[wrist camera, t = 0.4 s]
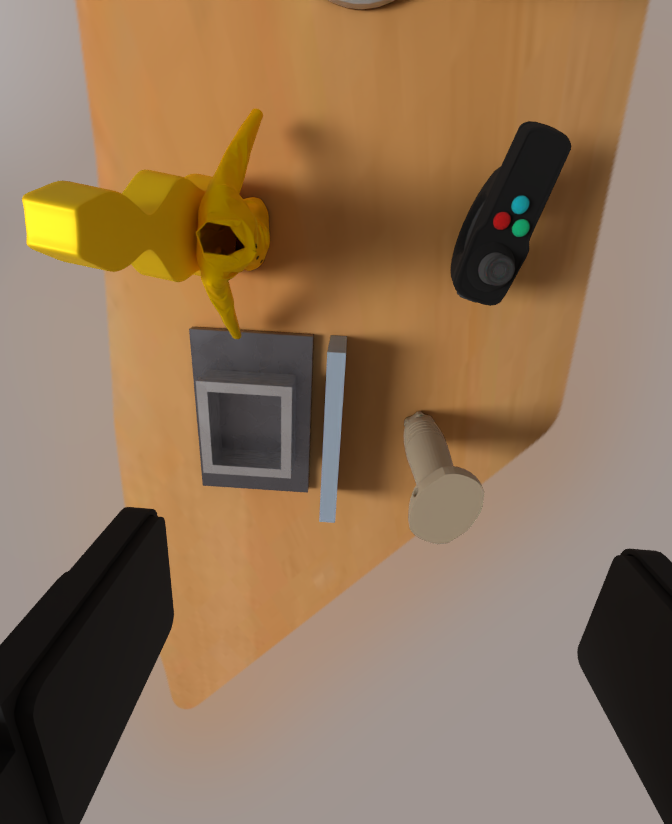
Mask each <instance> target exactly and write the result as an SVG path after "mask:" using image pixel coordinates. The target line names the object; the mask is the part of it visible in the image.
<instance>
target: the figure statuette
mask: <svg viewBox="0 0 672 824" xmlns="http://www.w3.org/2000/svg"><path fill="white" fill-rule="evenodd" d="M262 117H263V113H262V112H261V111H260V110H259V109H253V110H252V111H251V113H250V114H249V116H248V117H247V119H246V120H245V121H244V123H243V124H242V125H241V127H240V128H239V130H238V132H237V133H236V135H235V137H234V138H233V140H232V141H231V143H230V145H229V146H228V148H227V150H226V152H225V153H224V155H223V157H222V160H221V162H220V164H219V166H218V168H217V170H216V172H215V174H214V176H213V177H211V176H206V175H201V174H190V175H187V176H186V177H181V176H176V175H171V174H166V173H161V172H157V171H152V170H141V171H139V172H138V173H137V174H136V175H135V176H134V178H133V179H132V180H131V182H130V183H129V184H128V186H127V187H126V189H125V190H124V191H123V193H122V194H121V193H119V192H116V191H113V190H108V189H103V188H98V187H93V186H89V185H84V184H79V183H74V182H69V181H57V182H53V183H51V184H48V185H46V186H43V187H41V188H39V189H36V190H33V191H31V192H28V193H27V194H25V195H24V196H23V198H22V201H23V206H24V211H25V224H26V231H27V245H28V246H29V247H30V248H31V249H33V250H35V251H38V252H40V253H43V254H45V255H48V256H50V257H53V258H55V259H57V260H61V261H64V262H68V263H73V264H77V265H82V266H87V267H92V268H96V269H101V270H106V271H112V272H116V271H120V270H122V269H124V268H126V267H127V266H129V265H130V264H132V266H133V267H134V268H135V269H136V270H137V271H138V272H139V273H140V274H142V275H146V276H151V277H156V278H160V279H165V280H170V281H175V282H182V281H184V280H186V279H187V278H189V277H190V276H191V275H198V276H201V280H202V282H203V285H204V287H205V289H206V292H207V294H208V296H209V298H210V300H211V302H212V304H213V305H214V307H215V308H216V310H217V311H218V312H219V314H220V316H221V318H222V321H223V323H224V324H225V326H226V327H227V329H228V331H229V332H230V334H231V336H232V337H233V338H234V339H240V338H241V332H240V328H239V324H238V320H237V317H236V313H235V309H234V299H233V296H232V292H231V289H230V285H229V282H228V281H229V280H230V279H232V278H233V277H234V276H236V275H237V274H238V273H239V272H242V271H243V270H247V271H251V270H254V269H256V268H258V267H259V266H260V265H261V264H262V263H263V262H264V259H265V256H266V253H267V250H268V248H269V245H270V234H269V214H268V210H267V208H266V206H265V204H264V203H263V201H262V200H261V199H259V198H256V197H250V198H246V199H243V198H242V197H241V196H240V195H239V194H240V191H241V188H242V185H243V181H244V178H245V174H246V170H247V165H248V162H249V158H250V153H251V150H252V147H253V144H254V141H255V138H256V135H257V132H258V129H259V126H260V123H261V120H262ZM236 237H237V238H238V239H239V241H240V242H241V243H242V244H243V245H244V247H245V248H242V249H240V250H237V251H235V245H236Z"/></svg>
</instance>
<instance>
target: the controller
mask: <svg viewBox="0 0 672 824" xmlns="http://www.w3.org/2000/svg"><path fill="white" fill-rule="evenodd" d="M570 150H571V143H570V141H569V139H568V137H567V136H566V135H565V134H563V133H562V132H560V131H558V130H557V129H555V128H553V127H550V126H548V125H545V124H542V123H538V122H530V121H529V122H525V123H523V124H522V125H521V126H520V127H519V129H518V131H517V133H516V135H515V138H514V140H513V142H512V144H511V146H510V148H509V150H508V153H507V155H506V157H505V159H504V161H503V163H502V166H501V167H499V168H498V169H497V170H495V171H494V173H493V174H492V175H491V176H490V178H489V179H488V180H487V182H486V183H485V185H484V186H483V187H482V189H481V191H480V192H479V194H478V195H477V197H476V199H475V201H474V202H473V204H472V206H471V208H470V210H469V212H468V214H467V216H466V219H465V221H464V223H463V225H462V228H461V231H460V233H459V236H458V239H457V242H456V245H455V248H454V252H453V257H452V262H451V277H452V281H453V285H454V287H455V289H456V290H457V294H458V295H459V296H460V297H462V298H464V299H467V300H470V301H472V302H478V303H481V304H484V305H490V306H491V305H496V304H498V303H500V302H501V300H502V299H503V298H504V296H505V295H506V293H507V291H508V290H509V288H510V286H511V284H512V282H513V281H514V279H515V277H516V275H517V273H518V271H519V270H520V268H521V266H522V264H523V262H524V261H525V259H526V257H527V254H528V252H529V240H530V237H531V235H532V233H533V231H534V229H535V226H536V224H537V222H538V220H539V218H540V215H541V213H542V211H543V209H544V207H545V205H546V202H547V200H548V198H549V196H550V194H551V191H552V189H553V187H554V185H555V183H556V181H557V178H558V176H559V174H560V172H561V170H562V167H563V165H564V163H565V161H566V159H567V157H568V154H569V152H570Z"/></svg>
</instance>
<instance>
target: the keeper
mask: <svg viewBox="0 0 672 824" xmlns="http://www.w3.org/2000/svg"><path fill="white" fill-rule="evenodd" d="M189 332H190V343H191V355H192V366H193V378H194V389H195V401H196V412H197V424H198V435H199V447H200V458H201V470H202V481H203V485H204V486H219V487H234V488H249V489H264V490H279V491H294V492H308V488H309V459H310V429H311V399H312V369H313V339H314V334H302V333H286V332H270V331H254V330H240V332H241V338H240V339H234V338H233V337H232V336H231V334H230V332H229V331H228V329H222V328H206V327H192V328H190V329H189Z"/></svg>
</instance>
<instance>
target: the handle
mask: <svg viewBox="0 0 672 824" xmlns="http://www.w3.org/2000/svg"><path fill="white" fill-rule="evenodd" d="M404 426H405V429H404V446H405V452H406V456H407V459H408V462H409V465H410V467H411V470H412V473H413V476H414V479H415V482H416V486H415V488H414V490H413V493H412V496H411V499H410V503H409V516H408V521H409V527H410V530H411V531H412V532H413V534H414V535H415V536H417V537H418V538H420V539H422V540H424V541H427V542H430V543H435V544H444V543H449V542H450V541H452V540H454V539H455V538H457V537H459V536H460V535H462V534H463V533H465V532H466V531H467V530H468V529H469V528H470V527H471V525H472V524H473V523H474V521H475V520H476V519H477V517H478V516H479V514H480V512H481V509H482V505H483V498H484V489H483V487H482V485H481V484H480V482H479V480H478V479H477V478H476V476H475V475H473V474H472V473H471V472H469V471H467V470H465V469H462V468H459V467H455V466H453V463H452V459H451V456H450V452H449V449H448V445H447V443H446V440H445V438H444V436H443V434H442V432H441V430H440V429H439V427H438V426H437V424H436V423H435V421H434V420H433V418H432V417H431V416H430V415H425V414H423V413H422V412H421V411H417V412H416V413H415V414H414V415H413V416H411V417H407V418H406V419H405V421H404Z"/></svg>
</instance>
